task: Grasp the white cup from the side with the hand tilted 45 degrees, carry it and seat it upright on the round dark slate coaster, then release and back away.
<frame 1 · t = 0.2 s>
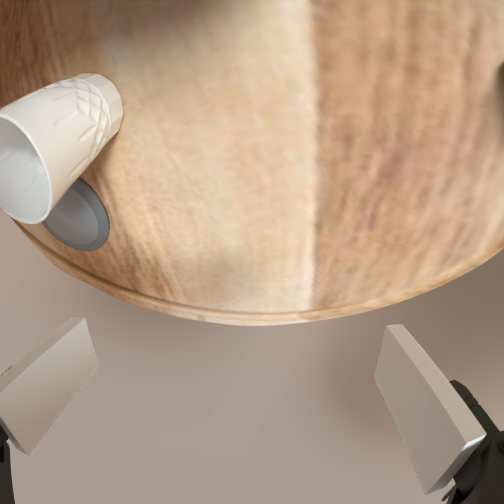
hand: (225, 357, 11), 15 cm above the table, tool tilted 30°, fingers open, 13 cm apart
coaster: (69, 211, 26), on the table
white cup: (92, 108, 18), on the table
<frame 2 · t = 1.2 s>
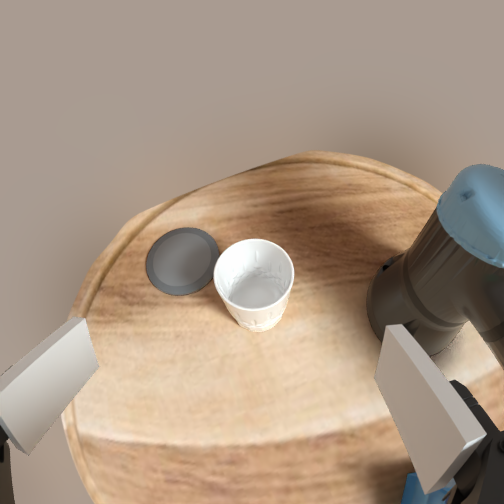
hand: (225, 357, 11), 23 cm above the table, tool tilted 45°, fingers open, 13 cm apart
coaster: (182, 260, 40), on the table
white cup: (257, 307, 36), on the table
perfume bottle: (422, 489, 20), on the table
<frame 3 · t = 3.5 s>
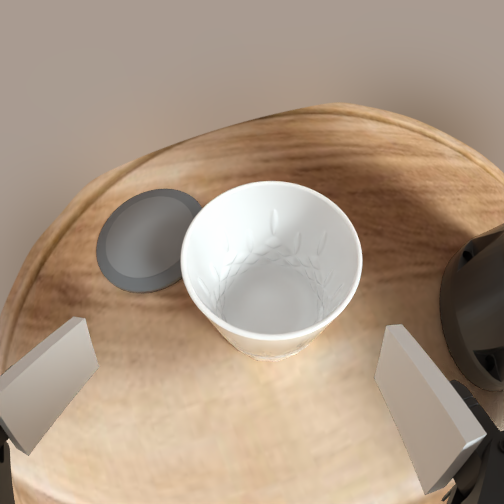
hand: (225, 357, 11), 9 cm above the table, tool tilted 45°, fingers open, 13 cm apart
coaster: (150, 237, 25), on the table
white cup: (270, 318, 21), on the table
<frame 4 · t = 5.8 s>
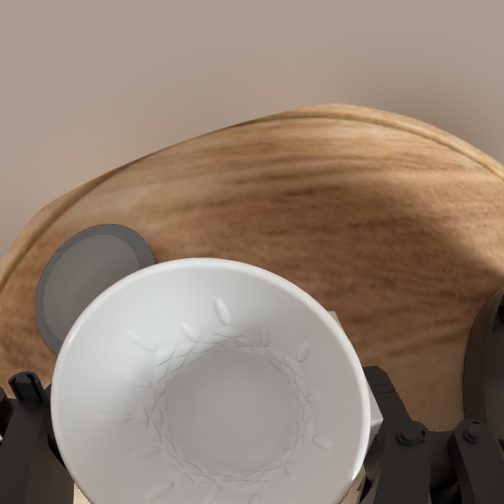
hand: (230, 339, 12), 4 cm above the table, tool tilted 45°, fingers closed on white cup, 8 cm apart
coaster: (91, 290, 18), on the table
white cup: (236, 411, 14), on the table, touching gripper
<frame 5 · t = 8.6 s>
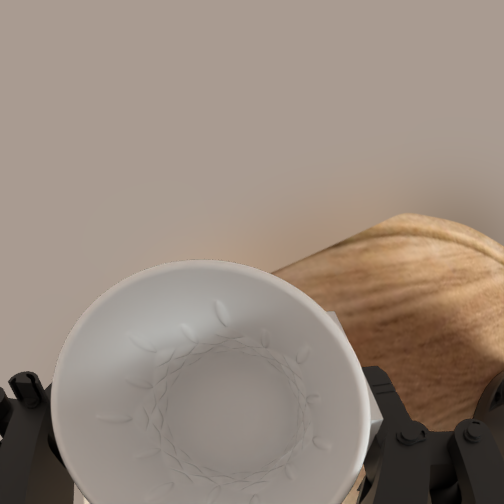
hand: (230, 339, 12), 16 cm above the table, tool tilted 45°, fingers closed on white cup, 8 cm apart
white cup: (236, 412, 14), point 12 cm above the table, touching gripper
when the fingers open (6 cm above the table, at t = 11.3 s): white cup drops 1 cm, resting on coaster.
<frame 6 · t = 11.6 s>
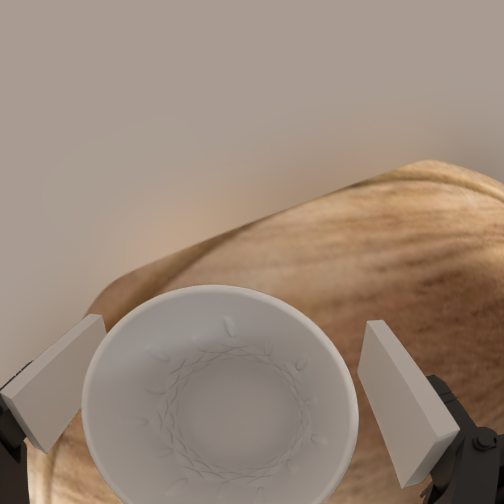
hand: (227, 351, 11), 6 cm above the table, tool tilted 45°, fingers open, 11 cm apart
white cup: (240, 414, 15), point 1 cm above the table, touching coaster
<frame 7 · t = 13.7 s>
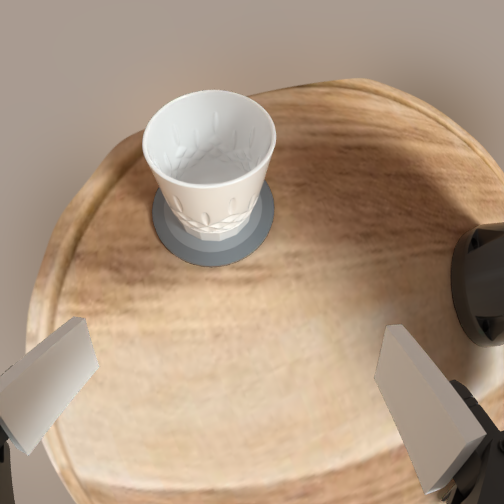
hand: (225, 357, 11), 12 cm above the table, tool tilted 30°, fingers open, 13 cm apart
coaster: (212, 208, 25), on the table
white cup: (214, 207, 25), resting on coaster
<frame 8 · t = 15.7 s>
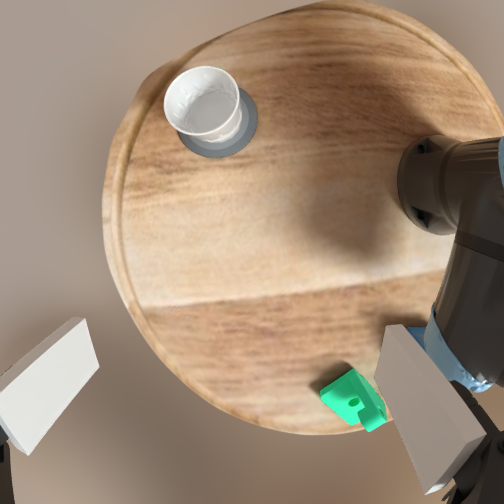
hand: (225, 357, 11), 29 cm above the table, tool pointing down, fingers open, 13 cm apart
camera mount: (350, 392, 45), on the table
coaster: (216, 119, 35), on the table
white cup: (217, 120, 35), resting on coaster
perfume bottle: (414, 341, 42), on the table
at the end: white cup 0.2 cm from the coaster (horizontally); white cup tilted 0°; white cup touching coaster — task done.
